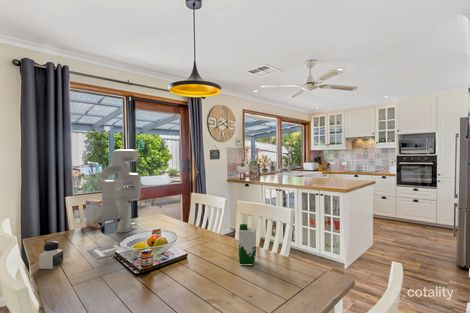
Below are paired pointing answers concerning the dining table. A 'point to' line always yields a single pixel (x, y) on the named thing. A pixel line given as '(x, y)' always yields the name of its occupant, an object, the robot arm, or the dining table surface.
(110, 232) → the blue cube
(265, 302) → the dining table surface
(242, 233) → the milk carton
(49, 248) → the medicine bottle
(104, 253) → the letter card
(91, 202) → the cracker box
